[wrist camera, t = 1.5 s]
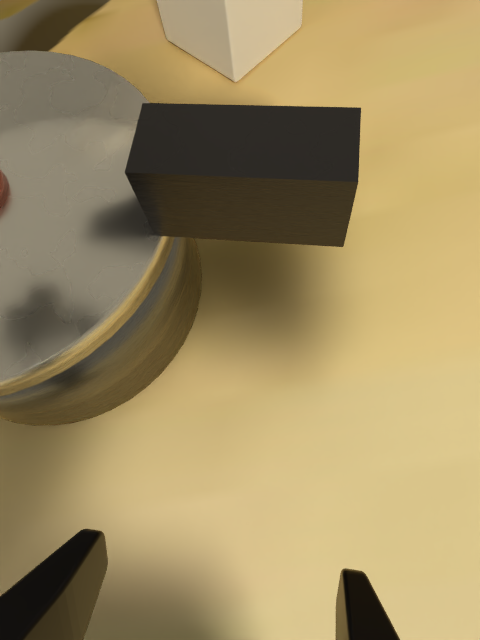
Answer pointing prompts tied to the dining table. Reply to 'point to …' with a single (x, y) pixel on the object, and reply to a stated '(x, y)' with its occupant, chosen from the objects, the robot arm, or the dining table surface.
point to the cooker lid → (140, 197)
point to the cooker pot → (120, 352)
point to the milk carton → (230, 30)
